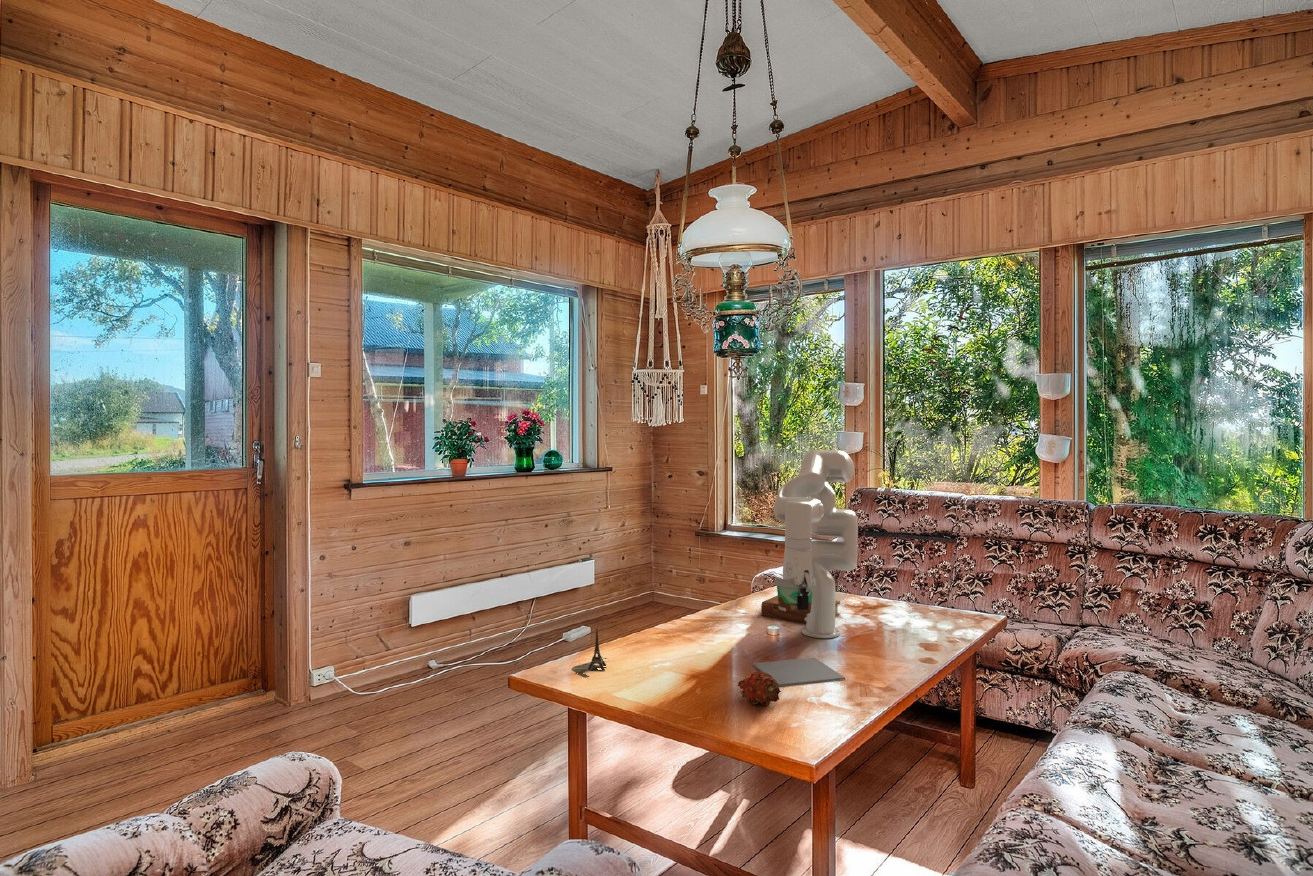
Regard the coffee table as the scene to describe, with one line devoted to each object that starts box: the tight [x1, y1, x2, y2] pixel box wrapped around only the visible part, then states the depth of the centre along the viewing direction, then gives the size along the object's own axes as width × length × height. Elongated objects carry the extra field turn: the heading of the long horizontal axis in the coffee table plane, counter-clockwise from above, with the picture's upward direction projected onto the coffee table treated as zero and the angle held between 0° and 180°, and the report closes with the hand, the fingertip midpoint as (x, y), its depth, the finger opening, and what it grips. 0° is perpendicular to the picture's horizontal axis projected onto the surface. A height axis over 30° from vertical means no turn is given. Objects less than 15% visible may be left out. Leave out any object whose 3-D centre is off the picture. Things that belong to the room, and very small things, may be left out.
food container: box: [774, 576, 816, 615], centre depth 210 cm, size 12×6×10 cm, turn 106°
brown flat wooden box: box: [760, 594, 841, 624], centre depth 273 cm, size 23×19×6 cm
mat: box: [752, 657, 846, 688], centre depth 211 cm, size 18×20×1 cm
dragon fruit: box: [737, 671, 782, 706], centre depth 188 cm, size 8×8×12 cm
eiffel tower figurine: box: [571, 627, 608, 678], centre depth 215 cm, size 15×10×13 cm
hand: (798, 606), depth 210 cm, fingers closed on food container, 5 cm apart
